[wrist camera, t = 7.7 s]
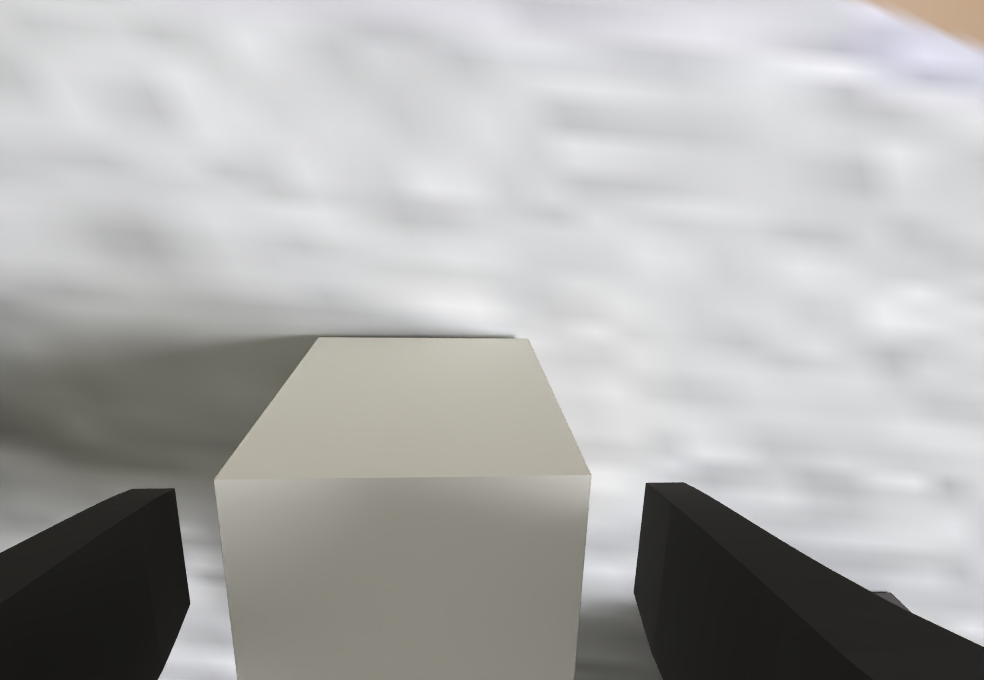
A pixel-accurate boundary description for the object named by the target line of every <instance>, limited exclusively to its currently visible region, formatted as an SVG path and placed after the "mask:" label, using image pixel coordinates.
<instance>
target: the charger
mask: <svg viewBox="0 0 984 680" xmlns="http://www.w3.org/2000/svg"><path fill="white" fill-rule="evenodd" d="M590 486H591V473H590V471H589V469H588V467H587V465H586V462H585V460H584V458H583V456H582V454H581V452H580V449H579V447H578V445H577V443H576V441H575V439H574V437H573V434H572V432H571V430H570V428H569V426H568V424H567V421H566V419H565V417H564V415H563V413H562V411H561V408H560V406H559V404H558V402H557V400H556V398H555V395H554V393H553V391H552V389H551V387H550V385H549V383H548V380H547V378H546V376H545V374H544V372H543V370H542V367H541V365H540V363H539V361H538V359H537V357H536V354H535V352H534V350H533V348H532V346H531V344H530V341H529V339H505V338H350V337H319V338H318V339H317V340H316V342H315V343H314V344H313V346H312V347H311V348H310V350H309V351H308V352H307V354H306V355H305V357H304V358H303V359H302V361H301V362H300V363H299V365H298V366H297V367H296V369H295V370H294V371H293V373H292V374H291V376H290V377H289V378H288V380H287V381H286V382H285V384H284V385H283V386H282V388H281V389H280V390H279V392H278V393H277V395H276V396H275V397H274V399H273V400H272V401H271V403H270V404H269V405H268V407H267V408H266V409H265V411H264V412H263V413H262V415H261V416H260V418H259V419H258V420H257V422H256V423H255V424H254V426H253V427H252V428H251V430H250V431H249V432H248V434H247V435H246V437H245V438H244V439H243V441H242V442H241V443H240V445H239V446H238V447H237V449H236V450H235V451H234V453H233V454H232V456H231V457H230V458H229V460H228V461H227V462H226V464H225V465H224V466H223V468H222V469H221V470H220V472H219V473H218V474H217V476H216V477H215V479H214V487H215V495H216V503H217V512H218V520H219V529H220V537H221V546H222V554H223V562H224V571H225V579H226V588H227V596H228V605H229V613H230V621H231V630H232V638H233V647H234V655H235V664H236V672H237V680H574V674H575V662H576V651H577V639H578V627H579V615H580V604H581V592H582V580H583V568H584V557H585V545H586V533H587V521H588V510H589V498H590Z"/></svg>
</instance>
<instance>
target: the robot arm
mask: <svg viewBox="0 0 984 680" xmlns="http://www.w3.org/2000/svg"><path fill="white" fill-rule="evenodd" d="M634 595H635V598H636V602H637V605H638V609H639V612H640V616H641V619H642V623H643V626H644V629H645V633H646V636H647V639H648V642H649V645H650V648H651V652H652V655H653V657H654V659H655V662H656V664H657V666H658V669H659V671H660V673H661V676H662V678H663V680H984V647H983V646H980V645H978V644H976V643H974V642H972V641H970V640H968V639H965V638H963V637H961V636H959V635H957V634H955V633H953V632H951V631H949V630H947V629H944V628H942V627H940V626H938V625H936V624H934V623H932V622H930V621H928V620H926V619H923V618H921V617H919V616H917V615H915V614H913V613H911V612H909V611H907V610H905V609H903V608H901V607H899V606H897V605H895V604H893V603H891V602H889V601H887V600H885V599H884V598H882V597H880V596H878V595H876V594H874V593H872V592H871V591H869V590H867V589H865V588H863V587H862V586H860V585H858V584H856V583H854V582H852V581H851V580H849V579H847V578H845V577H843V576H841V575H840V574H838V573H836V572H834V571H832V570H831V569H829V568H827V567H825V566H824V565H822V564H820V563H819V562H817V561H815V560H813V559H812V558H810V557H808V556H806V555H805V554H803V553H801V552H800V551H798V550H796V549H795V548H793V547H791V546H790V545H788V544H786V543H785V542H783V541H781V540H780V539H778V538H777V537H775V536H773V535H772V534H770V533H768V532H767V531H765V530H764V529H762V528H760V527H759V526H757V525H755V524H754V523H752V522H751V521H749V520H747V519H746V518H744V517H743V516H741V515H739V514H738V513H736V512H734V511H733V510H731V509H730V508H728V507H726V506H725V505H723V504H721V503H720V502H718V501H716V500H715V499H713V498H711V497H710V496H708V495H706V494H705V493H703V492H701V491H699V490H698V489H696V488H694V487H692V486H690V485H688V484H686V483H684V482H679V483H646V487H645V496H644V505H643V514H642V523H641V531H640V540H639V549H638V558H637V567H636V576H635V585H634ZM189 606H190V598H189V590H188V583H187V576H186V568H185V561H184V554H183V546H182V539H181V532H180V524H179V517H178V510H177V503H176V495H175V488H169V489H131V490H128V491H126V492H123V493H121V494H118V495H116V496H113V497H111V498H109V499H107V500H105V501H102V502H100V503H98V504H96V505H94V506H92V507H90V508H88V509H86V510H84V511H82V512H80V513H78V514H76V515H74V516H72V517H70V518H68V519H66V520H64V521H62V522H60V523H58V524H56V525H54V526H52V527H50V528H48V529H46V530H44V531H42V532H40V533H39V534H37V535H35V536H33V537H31V538H29V539H27V540H25V541H23V542H21V543H19V544H17V545H15V546H13V547H11V548H9V549H7V550H5V551H3V552H1V553H0V680H158V678H159V676H160V674H161V673H162V671H163V668H164V666H165V664H166V661H167V659H168V657H169V655H170V652H171V650H172V648H173V645H174V643H175V641H176V638H177V636H178V633H179V631H180V628H181V626H182V623H183V621H184V618H185V616H186V613H187V611H188V608H189Z"/></svg>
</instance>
